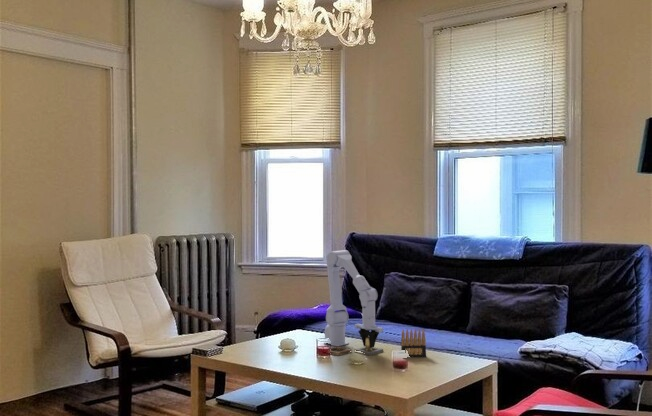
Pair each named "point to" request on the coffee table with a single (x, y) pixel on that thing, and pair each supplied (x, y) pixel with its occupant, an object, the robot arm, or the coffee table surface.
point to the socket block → (375, 351)
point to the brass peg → (367, 344)
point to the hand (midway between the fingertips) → (368, 346)
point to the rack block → (341, 351)
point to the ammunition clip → (415, 349)
